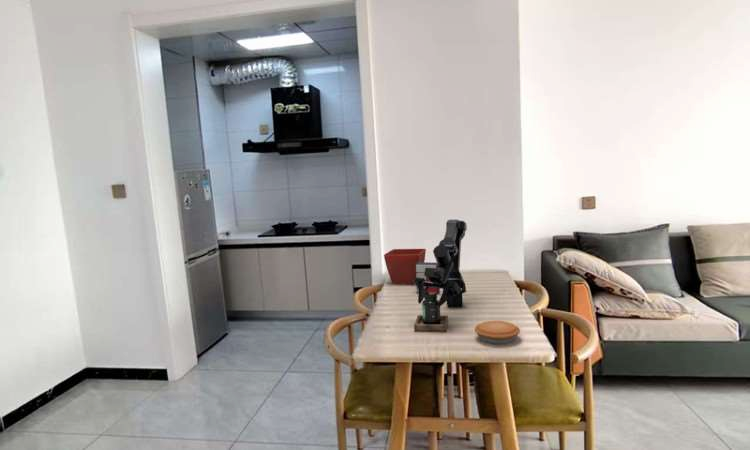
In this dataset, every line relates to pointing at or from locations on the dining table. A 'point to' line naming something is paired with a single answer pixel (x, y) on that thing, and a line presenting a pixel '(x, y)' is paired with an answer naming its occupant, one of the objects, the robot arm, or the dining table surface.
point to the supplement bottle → (431, 309)
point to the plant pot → (403, 264)
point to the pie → (497, 332)
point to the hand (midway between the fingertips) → (428, 304)
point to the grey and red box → (420, 273)
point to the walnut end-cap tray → (431, 325)
